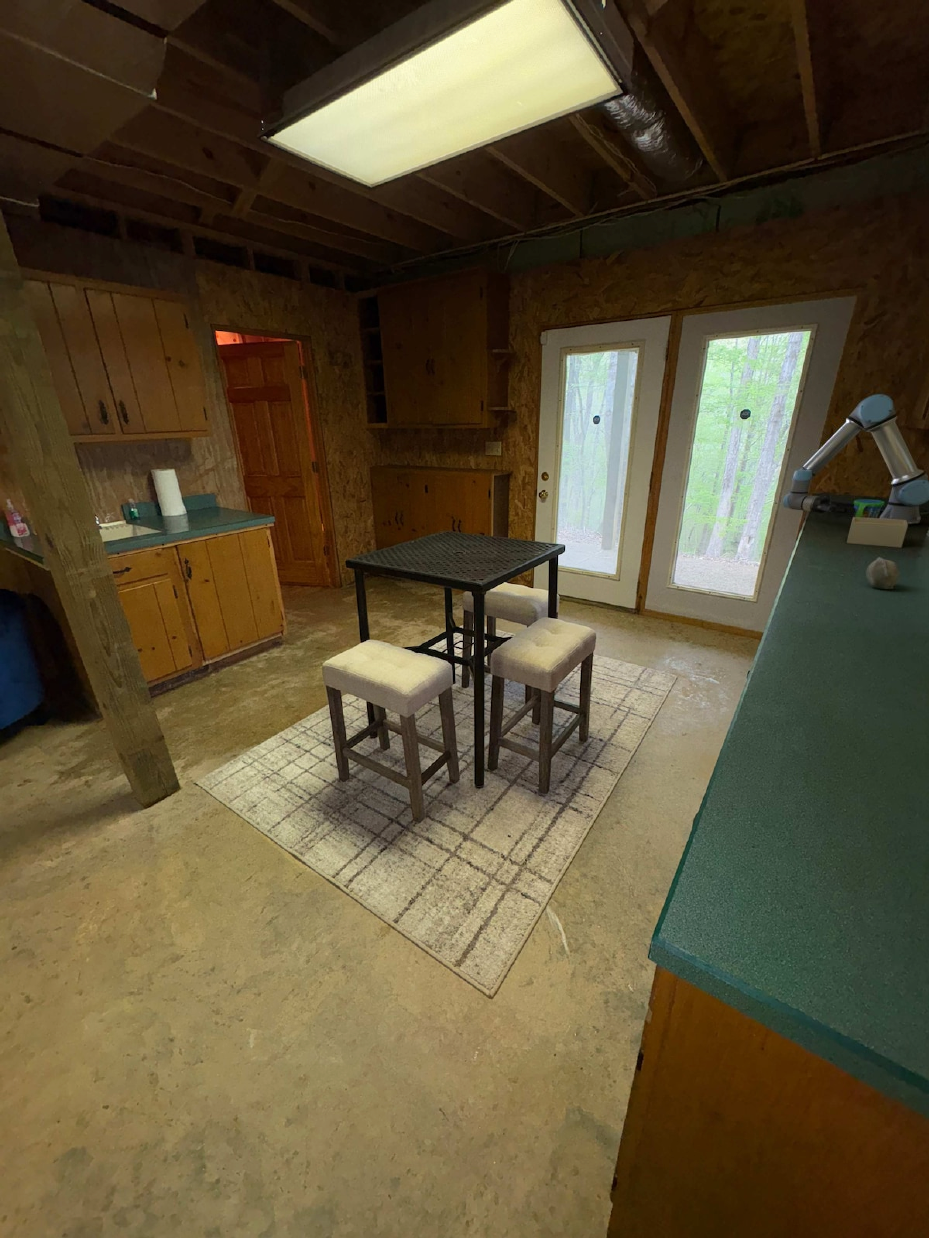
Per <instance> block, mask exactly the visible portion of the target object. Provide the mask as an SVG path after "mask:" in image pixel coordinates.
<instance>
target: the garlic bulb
mask: <svg viewBox="0 0 929 1238" xmlns="http://www.w3.org/2000/svg"><path fill="white" fill-rule="evenodd" d="M865 576H866V577H865V578H866V579H867V581H868V583H869V586H870V587H871V588H874V589H880V590H893V589H894V586H895V585H896V584H897V583H898V580H899V576H900V571H899V569H898V565H897V563H896V562H894V561H892V560H889V559H884V558H883V557H877V558H876V559H875V560H873V561H872V562H871V563H870V564H869V565H868V566H867V568H866V572H865Z"/></svg>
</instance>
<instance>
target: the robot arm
mask: <svg viewBox="0 0 929 1238" xmlns="http://www.w3.org/2000/svg"><path fill="white" fill-rule="evenodd" d="M897 419H898V414H897V412H896V410H895V407H894V400H892V398H891V397H890V396H888V395H887V394H883V393H876V394H873V395H869V396H867V397H865V398H863V399H862V400H861V401H860V402H859V403H858V404H857V406H856V407H855V408H854V409H853V411H852V412H851V413H850V414H849V415H848V416H847V417H846V419H845V422H844V424H842V426H840V428H839V429H837V430H836V432H835V433H834V434H833V435H832V436H831V437H830V438H829V439H828V440H827V441H826V442H825V443H824V444H823V445H822V446H821V447H820V449H818V450H817V451H816V453H814V454H813V456H811V458H810V459H809V460H808V461H807V462H805V464H804V465H803V466H802V467H801V468H800V469H797V470H795V471H794V474H793V476H792V478H791V489H790V493H787V494H786V495H785V496H784V498H783V499H782V506H783V507H784V508H785V509H789V510H795V511H804V512H807V513H811V512H812V513H813V512H814V513H819V514H822V513H823V514H824V513H825V512H829V513H833V515H834V514H836V515H837V514H838V513H842V514H850V515H854V512H855V508H854V502H849V501H837V500H836V501H835V500H831V501H830V498H829V497H827V496H818V495H809V491H810V487H811V482H812V479H813V478H814V477H815V476H816V475H817V474H818V473H820V472H821V471H822V469H823V468H824V467H825V466H826V465H827V464H829V462H830V461H832V459H833V458H834V457H836V456H837V455H838V453H839V452H840V451H842V449H844V448H845V447H846V446H847V445H848V444H849V443H850V442H851V441H852V440H853V439H854V437H856V436H857V435H858V434H859V433H860V432H861V431H865V432H866V433H867V432H868V433H871V435H872V437H873V439H874V441H875V443H876V445H877V447H878V449H879V452H880V454H881V456H882V457H883V460H884V462H885V464H886V466H887V468H888V470H889V473H890V474H891V476H892V481H891V483H890V485H891V487H892V488H891V491H890V494H889V499H888V503H887V505H886V507H885V509H884V510H883V511H882V513H881V515H880V516H879V519H897V520H906V521H907V524H908V526H917V525H919V524H920V521H921V519H922V518H923V517H924V518H925V517H928V515H927V514H920V506H921V505H923V504H925V503H927V502H928V501H929V479H928V478H929V476H928V474H926V473H925V471H924V470H923V469H919V468H918V467H917V465H916V463H915V461H914V459H913V456H912V454H911V452H910V450H909V448H908V446H907V444H906V442H905V440H904V438H903V436H902V433H901V431H900V429H899V427H898V425H897V423H896V421H897Z"/></svg>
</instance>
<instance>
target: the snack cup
mask: <svg viewBox="0 0 929 1238" xmlns="http://www.w3.org/2000/svg"><path fill="white" fill-rule="evenodd" d="M853 503H854V508H855V512H854V514H853V517H862V518H878V517H879V514H880V512H881V511H882V508H883V507H884V505H885V501H883V500H879V499H855V500H854V501H853Z"/></svg>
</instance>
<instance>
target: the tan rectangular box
mask: <svg viewBox="0 0 929 1238" xmlns="http://www.w3.org/2000/svg"><path fill="white" fill-rule="evenodd" d="M879 518H880V517H879ZM879 518H878V517H877V518H862V517H854V516H853V517H852V519H851V524H850V528H849V532H848V535H847V540H846V544H853V545H864V546H865V545H866V546H878V547H888V548H890V547H891V548H902V547H903V544H904V540H905V537H906V534H907V529H908V528H909V527H908V526H909V525H908V524H907V521H906V520H897V519H879Z"/></svg>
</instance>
